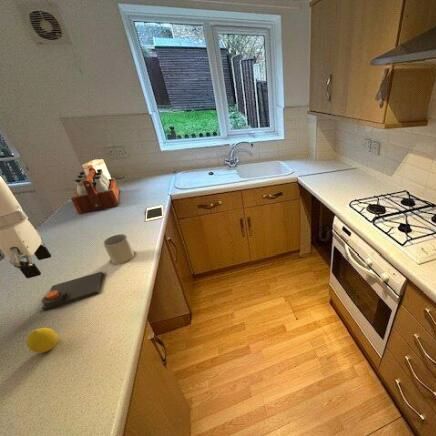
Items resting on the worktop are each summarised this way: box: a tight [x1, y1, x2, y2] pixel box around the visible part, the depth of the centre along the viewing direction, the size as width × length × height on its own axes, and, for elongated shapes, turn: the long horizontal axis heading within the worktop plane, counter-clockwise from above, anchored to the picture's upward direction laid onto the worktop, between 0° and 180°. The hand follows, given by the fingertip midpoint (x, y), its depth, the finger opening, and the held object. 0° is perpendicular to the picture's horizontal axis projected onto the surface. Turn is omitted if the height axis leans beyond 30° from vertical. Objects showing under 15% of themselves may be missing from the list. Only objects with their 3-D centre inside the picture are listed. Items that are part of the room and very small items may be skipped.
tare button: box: [45, 290, 60, 300], centre depth 81 cm, size 3×3×2 cm
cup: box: [102, 233, 135, 265], centre depth 101 cm, size 8×8×10 cm
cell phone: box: [145, 205, 164, 222], centre depth 141 cm, size 9×18×1 cm, turn 26°
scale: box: [40, 271, 104, 312], centre depth 86 cm, size 15×12×4 cm
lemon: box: [26, 327, 58, 354], centre depth 66 cm, size 6×6×8 cm
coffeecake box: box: [81, 158, 112, 182], centre depth 182 cm, size 15×7×20 cm, turn 6°
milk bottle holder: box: [70, 168, 120, 214], centre depth 155 cm, size 21×35×19 cm, turn 32°
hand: (40, 266), depth 74 cm, fingers open, 9 cm apart
